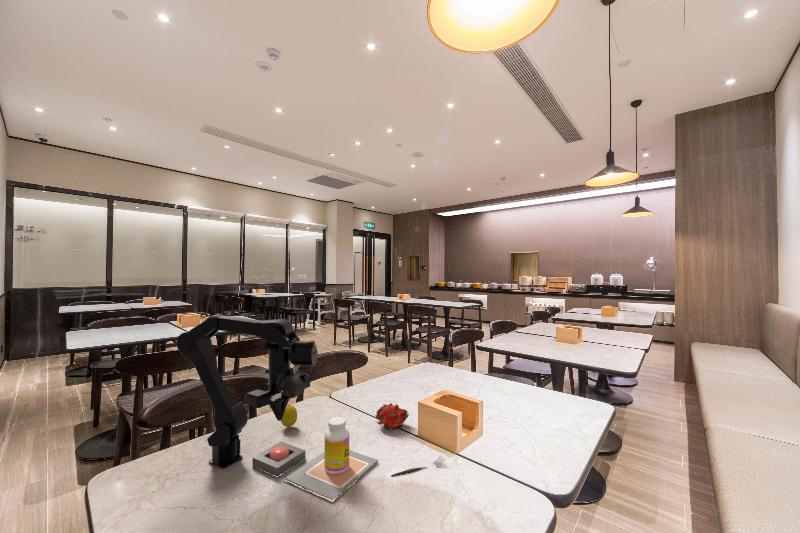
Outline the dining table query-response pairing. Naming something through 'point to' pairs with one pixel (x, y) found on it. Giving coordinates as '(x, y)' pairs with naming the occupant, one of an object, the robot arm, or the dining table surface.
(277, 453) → the button
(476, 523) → the dining table surface
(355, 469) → the picture board
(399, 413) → the dragon fruit
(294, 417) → the lemon
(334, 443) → the supplement bottle
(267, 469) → the button frame
